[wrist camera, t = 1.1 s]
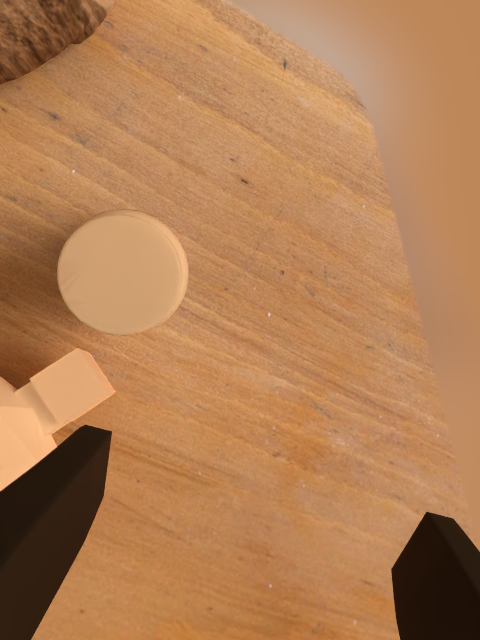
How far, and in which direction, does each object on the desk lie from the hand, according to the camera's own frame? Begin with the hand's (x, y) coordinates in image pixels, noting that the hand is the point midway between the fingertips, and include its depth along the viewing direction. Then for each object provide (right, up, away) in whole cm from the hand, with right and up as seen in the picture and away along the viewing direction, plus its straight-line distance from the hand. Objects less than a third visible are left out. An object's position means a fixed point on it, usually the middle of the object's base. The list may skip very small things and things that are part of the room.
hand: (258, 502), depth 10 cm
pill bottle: (-6, +7, +13) cm, 15 cm away
